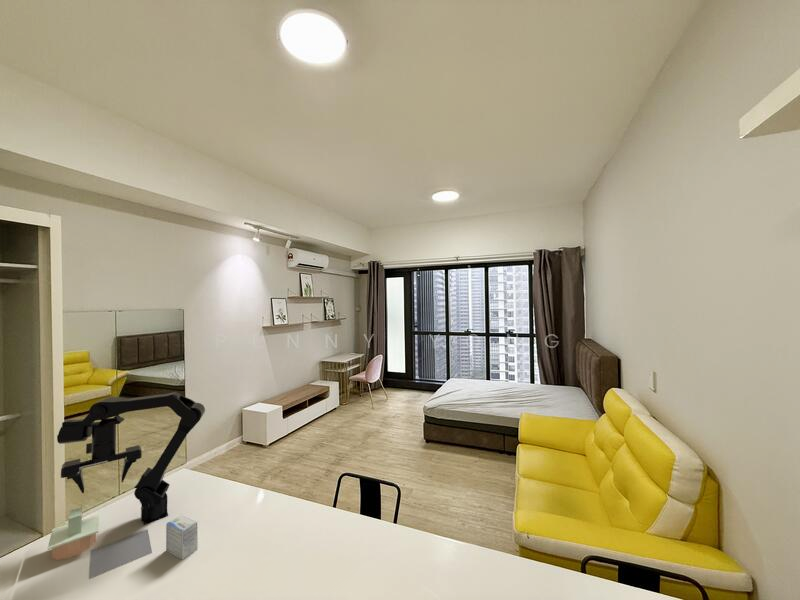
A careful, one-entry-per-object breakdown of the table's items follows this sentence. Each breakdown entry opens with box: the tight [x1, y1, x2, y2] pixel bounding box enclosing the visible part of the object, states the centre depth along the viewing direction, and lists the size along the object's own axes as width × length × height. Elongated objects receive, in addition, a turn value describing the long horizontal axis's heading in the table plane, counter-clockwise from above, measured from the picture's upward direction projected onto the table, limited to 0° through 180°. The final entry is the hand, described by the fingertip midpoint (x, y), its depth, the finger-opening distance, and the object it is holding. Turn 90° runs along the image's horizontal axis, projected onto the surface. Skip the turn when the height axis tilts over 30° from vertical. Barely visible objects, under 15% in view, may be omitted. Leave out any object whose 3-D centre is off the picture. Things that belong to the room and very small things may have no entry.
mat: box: [88, 528, 153, 580], centre depth 92 cm, size 13×13×1 cm
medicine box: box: [165, 514, 199, 560], centre depth 93 cm, size 8×4×9 cm, turn 65°
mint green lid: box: [47, 506, 100, 551], centre depth 94 cm, size 10×10×6 cm
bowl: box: [51, 533, 97, 561], centre depth 94 cm, size 9×9×5 cm
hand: (103, 486), depth 103 cm, fingers open, 9 cm apart
